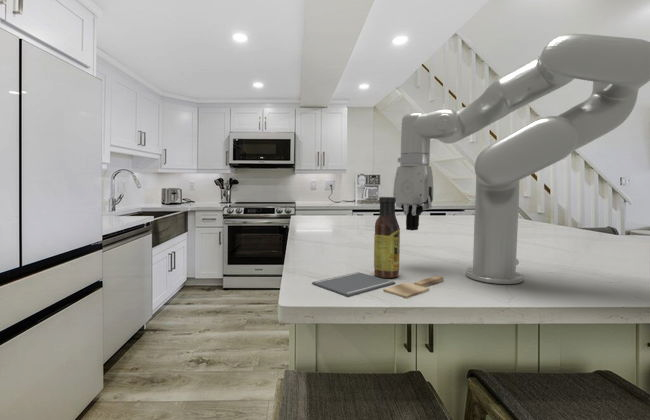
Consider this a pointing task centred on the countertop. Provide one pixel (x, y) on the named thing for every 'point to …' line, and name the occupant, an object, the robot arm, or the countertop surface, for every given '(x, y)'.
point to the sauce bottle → (386, 240)
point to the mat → (353, 283)
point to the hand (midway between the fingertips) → (412, 229)
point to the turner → (413, 287)
